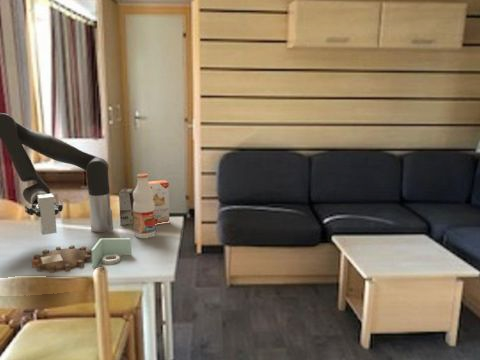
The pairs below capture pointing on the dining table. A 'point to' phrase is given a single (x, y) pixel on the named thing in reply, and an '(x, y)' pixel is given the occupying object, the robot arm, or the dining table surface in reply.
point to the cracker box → (161, 200)
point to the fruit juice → (143, 208)
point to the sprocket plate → (62, 259)
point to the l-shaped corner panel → (110, 250)
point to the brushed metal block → (47, 214)
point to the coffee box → (126, 206)
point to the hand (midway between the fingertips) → (47, 213)
